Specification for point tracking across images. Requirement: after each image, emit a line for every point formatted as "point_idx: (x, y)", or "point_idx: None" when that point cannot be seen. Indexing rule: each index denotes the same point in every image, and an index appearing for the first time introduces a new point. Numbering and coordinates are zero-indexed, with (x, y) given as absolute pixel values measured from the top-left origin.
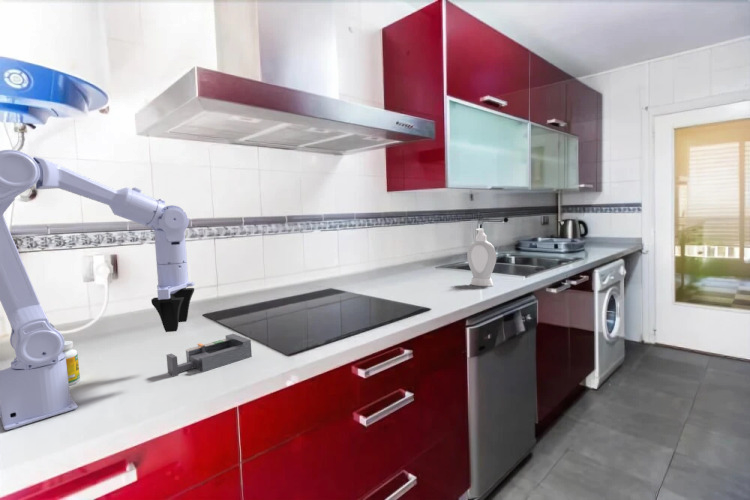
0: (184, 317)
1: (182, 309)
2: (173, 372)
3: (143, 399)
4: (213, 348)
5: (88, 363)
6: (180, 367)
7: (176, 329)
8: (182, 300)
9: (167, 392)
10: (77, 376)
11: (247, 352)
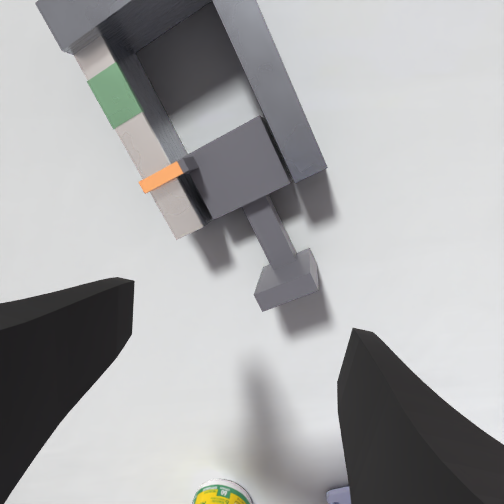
0: (119, 299)
1: (74, 340)
2: (316, 266)
3: (474, 334)
4: (154, 121)
5: (87, 471)
6: (289, 246)
7: (376, 336)
8: (484, 490)
9: (460, 272)
10: (228, 495)
11: None
